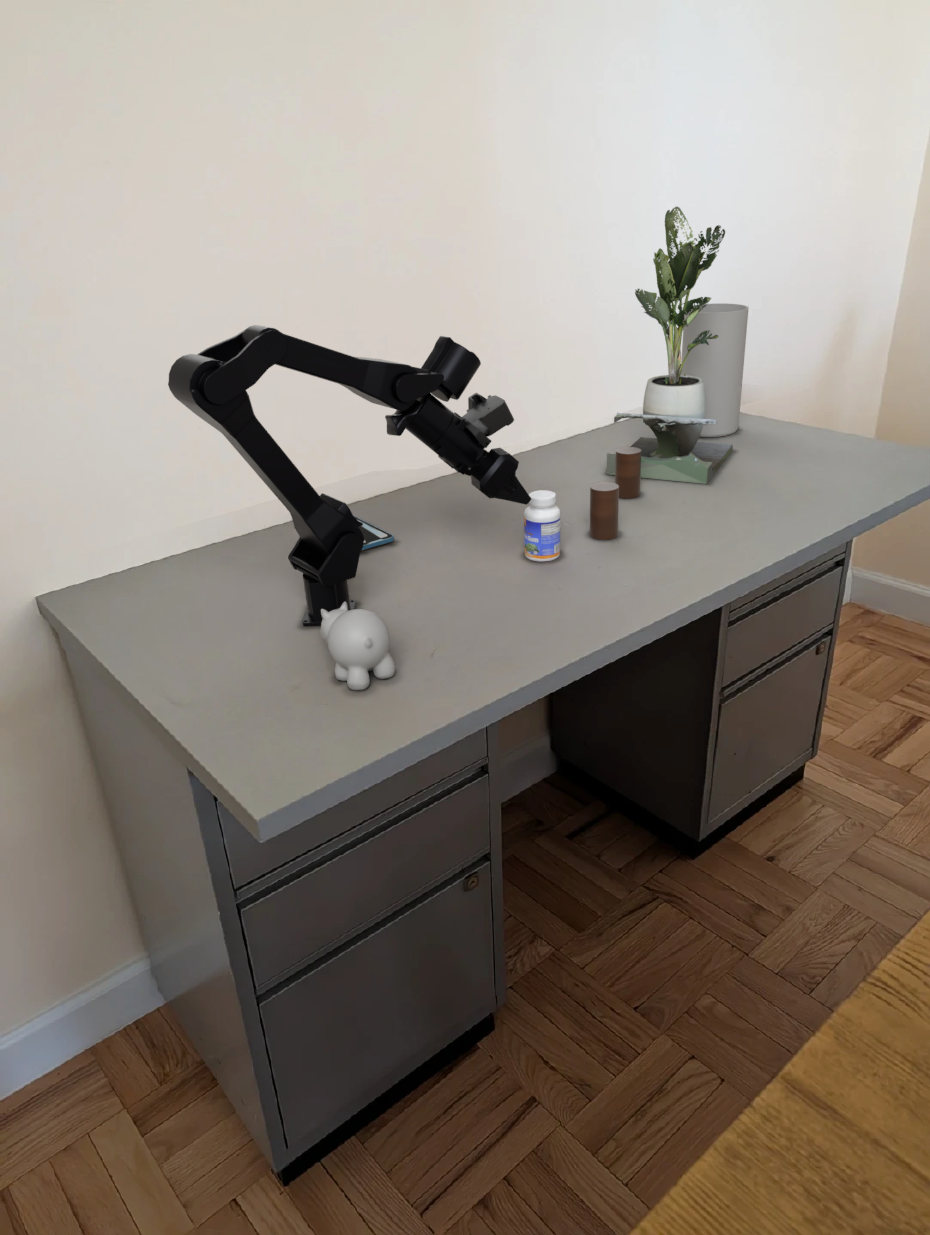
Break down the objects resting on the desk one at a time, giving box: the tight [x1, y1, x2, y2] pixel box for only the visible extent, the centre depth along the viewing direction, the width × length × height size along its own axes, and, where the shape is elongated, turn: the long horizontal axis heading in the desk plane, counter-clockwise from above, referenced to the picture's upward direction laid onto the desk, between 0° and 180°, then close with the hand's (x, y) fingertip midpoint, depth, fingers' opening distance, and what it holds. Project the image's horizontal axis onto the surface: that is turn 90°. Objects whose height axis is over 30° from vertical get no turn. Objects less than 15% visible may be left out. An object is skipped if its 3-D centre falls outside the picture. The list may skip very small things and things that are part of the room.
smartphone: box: [353, 514, 395, 551], centre depth 147 cm, size 7×1×15 cm
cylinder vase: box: [681, 303, 749, 438], centre depth 186 cm, size 12×12×25 cm
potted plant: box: [606, 206, 734, 485], centre depth 163 cm, size 22×19×45 cm
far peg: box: [614, 446, 641, 500], centre depth 156 cm, size 4×4×8 cm
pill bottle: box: [523, 489, 561, 563], centre depth 133 cm, size 5×5×10 cm
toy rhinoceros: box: [319, 601, 396, 691], centre depth 105 cm, size 7×12×8 cm, turn 34°
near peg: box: [589, 481, 620, 541], centre depth 140 cm, size 4×4×8 cm
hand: (516, 492), depth 129 cm, fingers open, 9 cm apart
